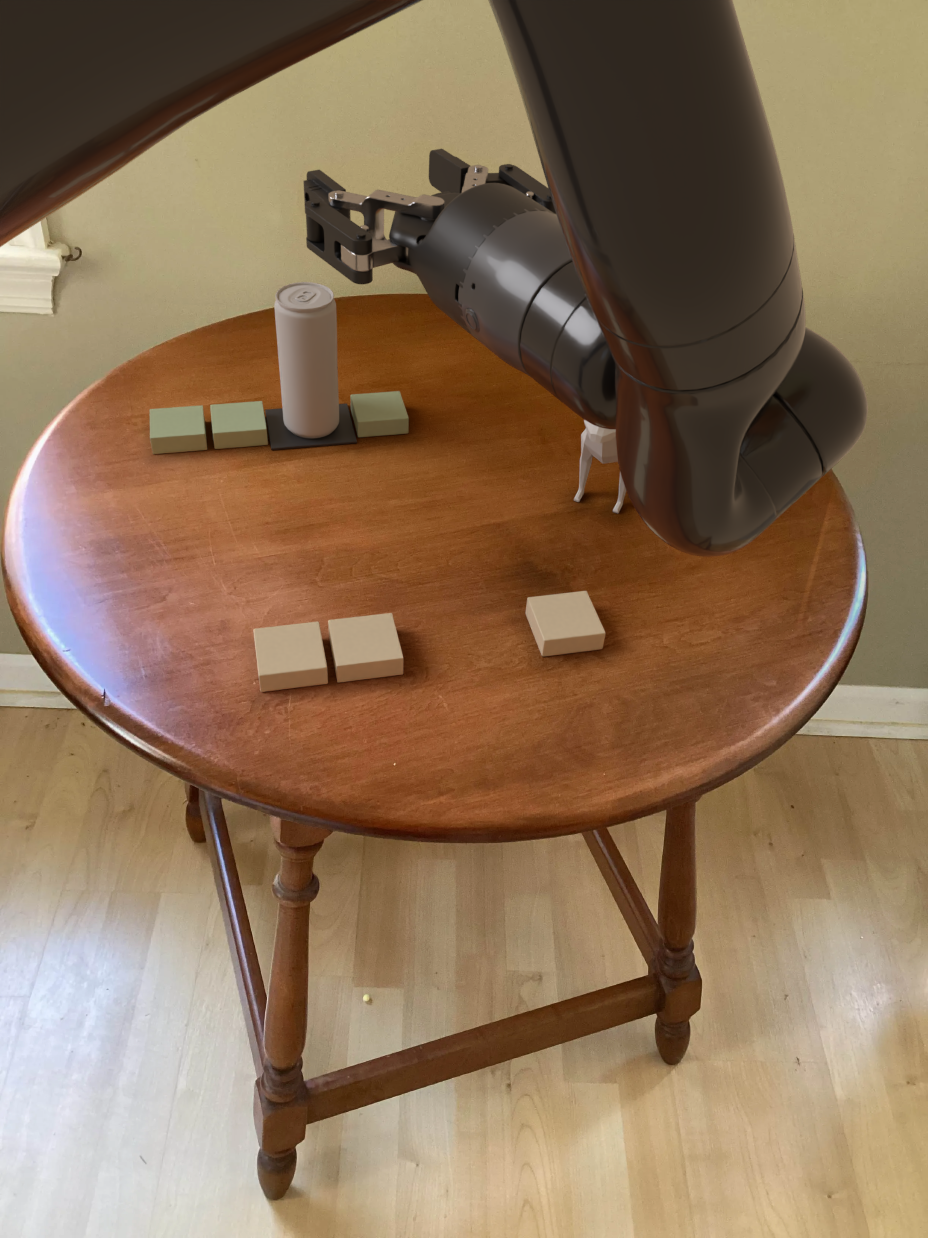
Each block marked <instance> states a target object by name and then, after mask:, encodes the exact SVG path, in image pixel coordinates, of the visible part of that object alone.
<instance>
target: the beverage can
mask: <svg viewBox="0 0 928 1238" xmlns="http://www.w3.org/2000/svg"><path fill="white" fill-rule="evenodd" d="M274 297H275V300H274V304H273V305H274V307H273V308H274V318H275V332H276V343H277V345H276V346H277V357H278V368H279V369H278V370H279V379H280V380H279V383H280V394H281V406H282V407H281V408H283V421H284V424H285V426H286V427H287V428H288V430H289V431H291V432H292V433H293V434H295V435H297V436H299V437H303V438H311V439H314V438H321V437H324V436H327V435H329V434H330V433H332V432H333V431H334V430H335V429H336V428H337V426H338V424H339V404H340V399H339V371H338V366H339V365H338V320H337V317H338V316H337V303H336V300H335V294H334V292H333V290H332V289H331V288H330V287H328V286H327V285H325V284H321V283H318V282H312V281H298V282H292V283H287V284H285V285H283V286H281V287H280V288H278V290H277V291H276V292H275V296H274Z"/></svg>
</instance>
